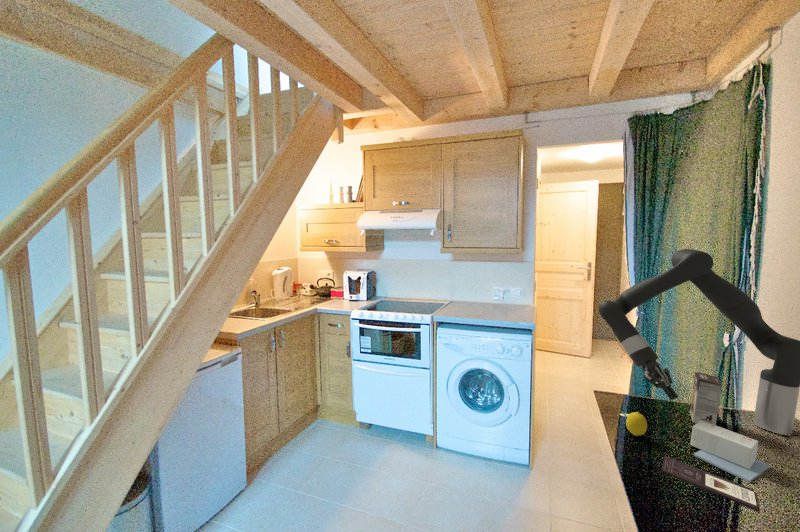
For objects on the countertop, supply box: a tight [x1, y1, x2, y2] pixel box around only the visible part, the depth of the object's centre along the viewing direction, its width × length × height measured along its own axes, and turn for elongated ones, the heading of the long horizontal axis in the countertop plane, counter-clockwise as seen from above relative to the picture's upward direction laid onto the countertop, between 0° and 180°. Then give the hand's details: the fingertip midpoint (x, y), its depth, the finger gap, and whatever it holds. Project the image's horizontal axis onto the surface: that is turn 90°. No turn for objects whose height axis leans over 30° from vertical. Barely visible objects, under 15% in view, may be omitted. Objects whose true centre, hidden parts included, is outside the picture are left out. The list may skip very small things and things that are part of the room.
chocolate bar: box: [660, 455, 758, 512], centre depth 88 cm, size 9×1×18 cm
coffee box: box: [689, 371, 723, 426], centre depth 121 cm, size 9×6×16 cm
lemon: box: [625, 411, 648, 437], centre depth 108 cm, size 6×6×8 cm
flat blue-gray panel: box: [693, 449, 771, 483], centre depth 97 cm, size 15×12×1 cm
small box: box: [690, 420, 759, 469], centre depth 100 cm, size 8×6×13 cm
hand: (674, 398), depth 110 cm, fingers closed
